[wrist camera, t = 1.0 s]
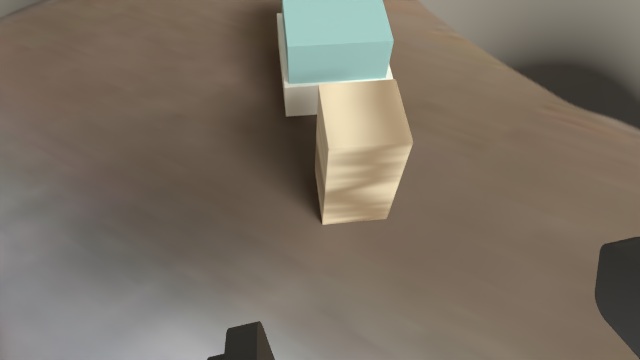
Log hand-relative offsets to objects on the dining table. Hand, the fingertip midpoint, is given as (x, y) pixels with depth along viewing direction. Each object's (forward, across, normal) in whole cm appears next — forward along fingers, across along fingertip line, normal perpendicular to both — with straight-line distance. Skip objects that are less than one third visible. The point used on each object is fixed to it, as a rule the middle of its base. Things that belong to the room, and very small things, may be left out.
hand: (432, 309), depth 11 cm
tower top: (+32, -2, +1) cm, 33 cm away
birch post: (+24, 0, +11) cm, 26 cm away
